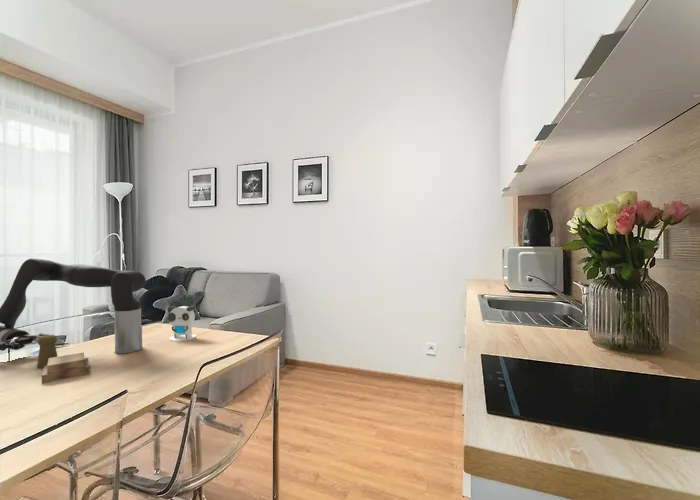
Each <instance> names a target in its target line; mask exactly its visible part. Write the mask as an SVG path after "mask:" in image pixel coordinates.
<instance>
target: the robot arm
mask: <svg viewBox="0 0 700 500" xmlns="http://www.w3.org/2000/svg"><path fill="white" fill-rule="evenodd" d="M33 281H36V282H37V281H39V282H55V281H56V282H65V283H67V284H69V285H72V286H76V287H84V288H109V287H110V296H111V302H112V305H113V308H114V352H115V354H129V353H133V352H139V351H141V350H143V326H142V305H141V301H139V300H137V299H135V298H134V294H133V293H136V292H138V291H140V290H142V289H144V287H145V286H146V283H147V280H146V276H145V275H144V274H143V273H142V272H141V271H137V270H120V269H119V270H118V269H112V268H106V267H100V266H97V265H96V266H94V265H87V264H79V263H77V264H76V263H75V264H64V263H60V262H57V261H53V260H50V259H49V260H48V259H40V258H28V259H26V260H25V261H24V262H22V264H21V266H20V267H19V269H18V271H17V274H16V276H15V278H14V280H13V282H12V285H11V288H10V290H9V293H8V294H7V296H6V298H5V300H4V302H3V303H2V304H1V306H0V324H1V325H0V351H3V352H4V351H7V350H6V349H8V350H9V351H10V350H13V351H14V350H15V351H18V350H20V349H22V348H25V347H26V346H29V345H37V344H38V339H39V338H40V337H42V336H46V335H50V334H48V333H38V334H30V333H29V332H28V331H26V330H23V329H18V328H15V326H16V322H17V320H18V318H19V317H20V316H21V314H22V313H23V311H24V310H25V307H26V305H27V295H26V293H27V290H28V289H27V288H28V287H29V286H30V284H31V283H32V282H33Z"/></svg>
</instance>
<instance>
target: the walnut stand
mask: <svg viewBox="0 0 700 500" xmlns="http://www.w3.org/2000/svg"><path fill="white" fill-rule="evenodd" d="M86 375H90V361H89V357H85V353H84V352H79V353H72V354H65V355H61V356H57V357H53V358H49V360H48V364H47V365H44V368H43V370H42V373H41V384H47V383H51V382H55V381H61V380H62V381H63V380H65V379H71V378H75V377H76V378H77V377H80V376H86Z"/></svg>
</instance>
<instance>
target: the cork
mask: <svg viewBox="0 0 700 500" xmlns="http://www.w3.org/2000/svg"><path fill="white" fill-rule="evenodd" d="M57 341H58V337H57V336H56V335H54V334H49V335H46V336H42V337H40V338H39V339H38V343H37V344H38V346H39V350H38V351H39V352H38V355H37V356H38V357H37V364H36V369H39V370H40V369H44V365H47V364H48V360H49V358H53V357H58V353H57V352H58V351H57V347H56V343H57Z"/></svg>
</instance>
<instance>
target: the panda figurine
mask: <svg viewBox="0 0 700 500" xmlns="http://www.w3.org/2000/svg"><path fill="white" fill-rule="evenodd" d="M195 309H196V307H195V305H191V306H186V305H182V306H177V305H172V306H169V307H168V308H167V312H168V313H169V314H168V317H167V319H168V322H169V323H170V325H171V326H172V327H171V330H172V331H173V336H170V337H169V341H170V342H185V341H190V340H193V339H196V338H197V335H196V334H195V333H192V332H193V331H192V325H193V323H195V322H194V321H195V318H196V315H195V312H194V310H195Z"/></svg>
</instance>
